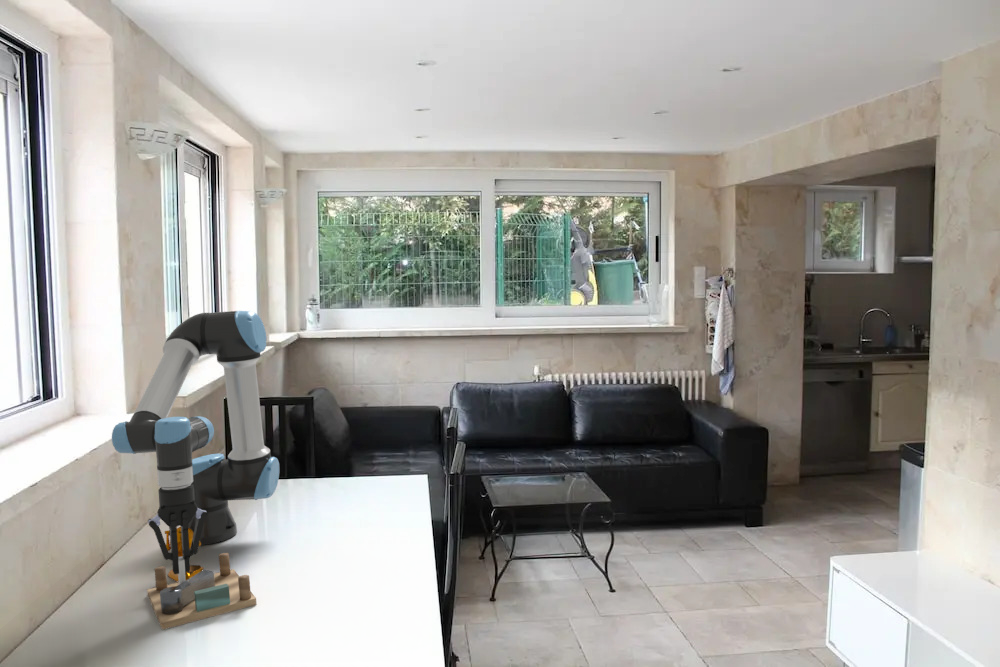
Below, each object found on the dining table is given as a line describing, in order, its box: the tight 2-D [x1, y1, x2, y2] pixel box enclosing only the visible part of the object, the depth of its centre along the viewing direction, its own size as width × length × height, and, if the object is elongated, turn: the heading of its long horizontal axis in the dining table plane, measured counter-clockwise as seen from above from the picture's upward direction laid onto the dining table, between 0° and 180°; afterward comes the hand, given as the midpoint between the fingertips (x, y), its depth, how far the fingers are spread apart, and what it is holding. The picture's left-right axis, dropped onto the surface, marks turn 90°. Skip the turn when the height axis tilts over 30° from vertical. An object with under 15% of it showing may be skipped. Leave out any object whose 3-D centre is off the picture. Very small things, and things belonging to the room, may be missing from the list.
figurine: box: [164, 526, 205, 582], centre depth 200 cm, size 8×11×12 cm
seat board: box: [146, 552, 257, 630], centre depth 183 cm, size 22×20×6 cm
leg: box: [160, 569, 215, 614], centre depth 180 cm, size 15×4×4 cm, turn 163°
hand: (182, 586), depth 182 cm, fingers closed
